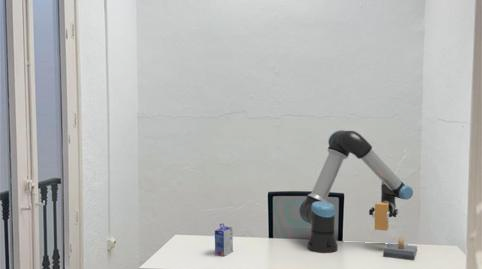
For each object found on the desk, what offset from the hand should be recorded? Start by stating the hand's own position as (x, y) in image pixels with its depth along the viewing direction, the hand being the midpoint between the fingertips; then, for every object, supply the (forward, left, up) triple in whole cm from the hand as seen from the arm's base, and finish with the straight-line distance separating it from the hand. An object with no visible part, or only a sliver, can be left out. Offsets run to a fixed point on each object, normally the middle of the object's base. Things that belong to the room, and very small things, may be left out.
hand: (380, 215), depth 231 cm
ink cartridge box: (-68, -38, -18) cm, 81 cm away
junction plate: (+10, +3, -18) cm, 21 cm away
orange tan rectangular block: (0, +5, -7) cm, 9 cm away
